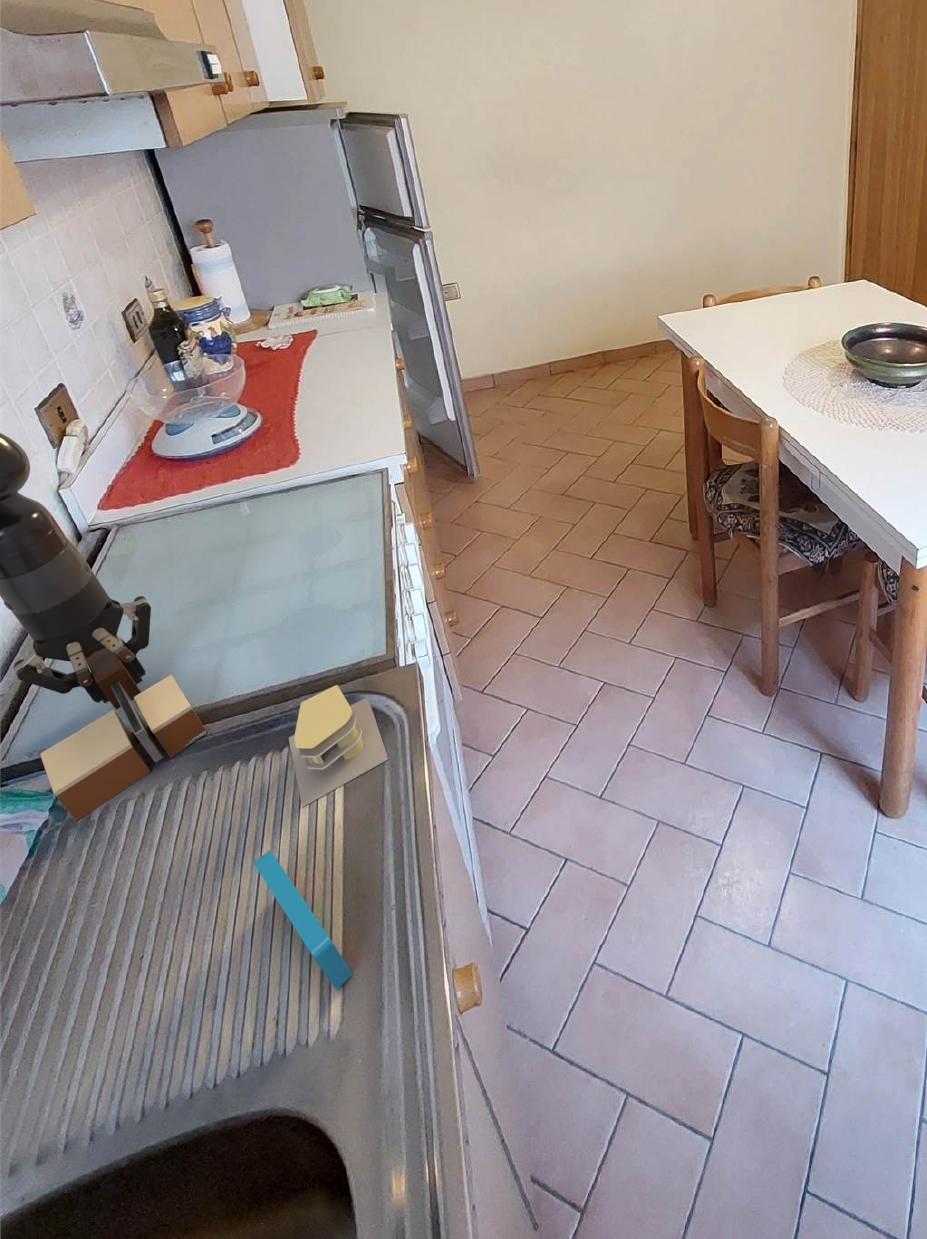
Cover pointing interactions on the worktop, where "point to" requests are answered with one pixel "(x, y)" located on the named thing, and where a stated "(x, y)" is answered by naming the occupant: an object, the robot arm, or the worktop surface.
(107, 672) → the knife
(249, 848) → the worktop surface
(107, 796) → the cake
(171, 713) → the cream topped brown block
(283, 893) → the long teal plank
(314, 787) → the stacked layers on plate
